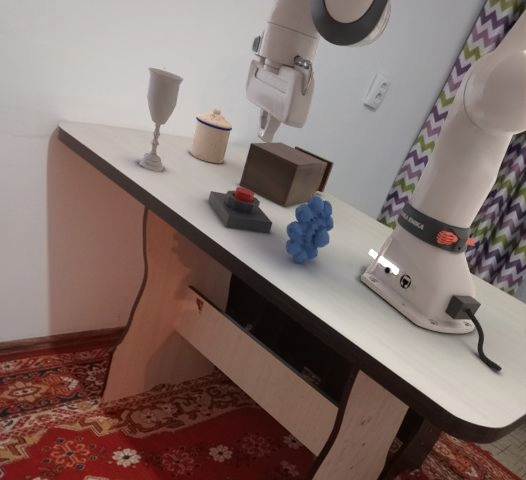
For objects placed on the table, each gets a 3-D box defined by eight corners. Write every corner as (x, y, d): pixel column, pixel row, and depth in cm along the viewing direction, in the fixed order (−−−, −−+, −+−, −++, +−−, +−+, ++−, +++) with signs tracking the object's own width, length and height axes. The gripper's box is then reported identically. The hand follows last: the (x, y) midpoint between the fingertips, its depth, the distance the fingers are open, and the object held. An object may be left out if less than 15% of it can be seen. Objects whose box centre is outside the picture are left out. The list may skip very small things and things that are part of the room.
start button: (254, 204, 88) (257, 195, 87) (237, 201, 86) (239, 192, 85) (248, 197, 90) (250, 188, 89) (231, 194, 89) (233, 185, 88)
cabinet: (269, 180, 119) (280, 142, 114) (310, 200, 116) (324, 161, 111) (239, 185, 108) (250, 143, 103) (284, 207, 104) (298, 164, 99)
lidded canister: (230, 166, 119) (242, 118, 113) (199, 162, 114) (210, 111, 107) (207, 149, 126) (217, 104, 120) (178, 145, 121) (187, 96, 114)
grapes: (295, 279, 75) (321, 208, 68) (266, 259, 78) (289, 189, 71) (335, 270, 83) (362, 206, 76) (307, 252, 86) (331, 190, 79)
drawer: (294, 174, 129) (303, 146, 125) (329, 190, 126) (340, 162, 122) (263, 179, 115) (272, 147, 111) (301, 197, 112) (313, 165, 108)
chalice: (163, 175, 97) (180, 81, 87) (131, 165, 96) (144, 68, 86) (170, 167, 103) (186, 78, 93) (139, 157, 102) (152, 66, 92)
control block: (269, 233, 88) (275, 213, 86) (225, 227, 84) (231, 206, 82) (248, 208, 96) (254, 189, 94) (208, 201, 92) (212, 181, 90)
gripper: (333, 68, 69) (303, 162, 77) (280, 48, 83) (260, 128, 91) (296, 56, 66) (269, 154, 74) (249, 38, 81) (230, 121, 88)
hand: (264, 140), depth 82 cm, fingers closed
